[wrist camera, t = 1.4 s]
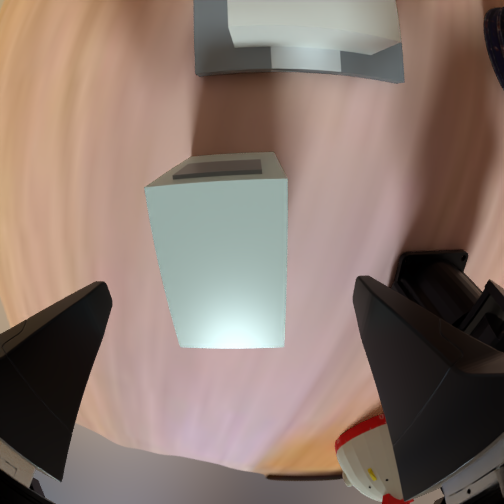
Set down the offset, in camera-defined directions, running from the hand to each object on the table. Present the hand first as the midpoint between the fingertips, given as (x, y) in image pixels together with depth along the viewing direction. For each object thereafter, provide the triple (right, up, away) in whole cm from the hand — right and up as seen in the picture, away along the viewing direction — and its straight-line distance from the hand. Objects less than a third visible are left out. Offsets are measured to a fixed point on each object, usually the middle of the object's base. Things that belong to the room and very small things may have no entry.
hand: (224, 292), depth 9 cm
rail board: (+3, +20, -2) cm, 20 cm away
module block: (0, +4, +7) cm, 8 cm away
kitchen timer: (+19, -24, +21) cm, 38 cm away
